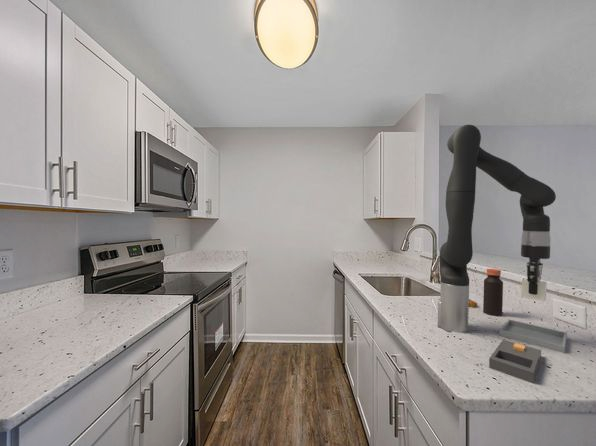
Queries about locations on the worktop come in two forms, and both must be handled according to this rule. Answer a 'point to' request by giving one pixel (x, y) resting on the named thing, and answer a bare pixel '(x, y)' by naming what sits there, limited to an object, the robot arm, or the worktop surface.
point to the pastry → (472, 303)
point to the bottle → (493, 293)
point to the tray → (534, 335)
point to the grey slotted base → (516, 360)
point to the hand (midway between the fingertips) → (533, 292)
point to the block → (540, 290)
